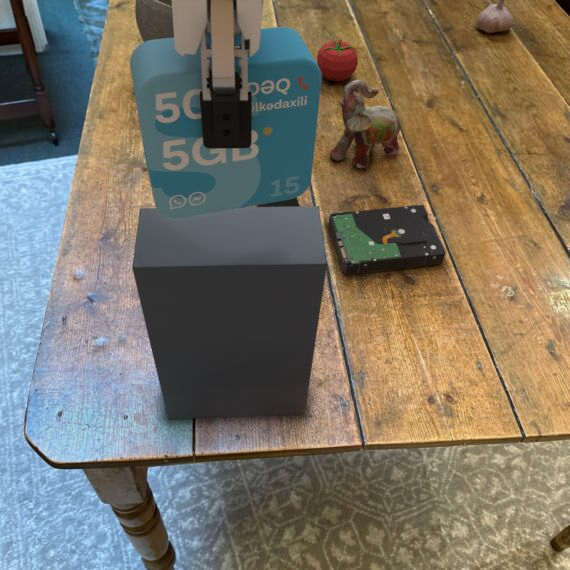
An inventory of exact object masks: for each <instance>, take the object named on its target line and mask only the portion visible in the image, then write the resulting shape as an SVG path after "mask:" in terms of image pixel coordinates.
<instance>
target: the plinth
mask: <svg viewBox="0 0 570 570" xmlns="http://www.w3.org/2000/svg"><path fill="white" fill-rule="evenodd" d="M299 206H300V205H299ZM324 239H325V238H324V232H323V224H322V218H321V211H320V206H319V205H316V206H315V205H312V206H311V205H310V206H309V205H308V206H306V205H304V206H302V205H301V206H300V207H258V206H248V207H242V208H236V209H230V210H224V211H218V212H212V213H206V214H200V215H194V216H188V217H183V218H170V217H166V216H164V215H162V214H161V213H160V212H159V211H158V210H157V208H156V207H141V208H139V213H138V220H137V229H136V234H135V244H134V250H133V258H132V265H131V268H132V272H133V277H134V281H135V286H136V290H137V294H138V298H139V303H140V307H141V312H142V315H143V319H144V323H145V327H146V333H147V336H148V341H149V345H150V349H151V353H152V357H153V362H154V366H155V370H156V374H157V378H158V381H159V382H158V383H159V388H160V391H161V396H162V400H163V405H164V408H165V409H164V410H165V413H166V417H167V420H188V419H189V420H190V419H217V418H243V417H244V418H245V417H246V418H247V417H272V416H296V415H297V416H299V415H305V414H306V408H307V401H308V396H309V395H308V394H309V389H310V383H311V374H312V367H313V361H314V356H315V355H314V354H315V348H316V341H317V333H318V329H319V328H318V327H319V321H320V315H321V307H322V301H323V295H324V289H325V288H324V287H325V281H326V275H327V274H326V273H327V267H328V261H327V255H326V247H325V240H324Z"/></svg>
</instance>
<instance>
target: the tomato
mask: <svg viewBox="0 0 570 570" xmlns="http://www.w3.org/2000/svg"><path fill="white" fill-rule="evenodd" d="M316 63H317V64H318V66H319V68H320V70H321V74H322V76H323V77H324V78H326V79H327V80H329V81H333V82H342V81H344V80H347V79H348V78H350V77H351V76H352V75H353V74H354V73H355V71H356V70H357V67H358V64H359V58H358V52H357V48H356V47H354V46H352V44H350V43H348V42H346V41H344V40H343V39H342V38H340V40H331V41H328V42H326V43H324V44H323V45H322V46H321V47H320V48H319V50H318V52H317V55H316Z"/></svg>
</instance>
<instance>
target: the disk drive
mask: <svg viewBox="0 0 570 570" xmlns="http://www.w3.org/2000/svg"><path fill="white" fill-rule="evenodd" d="M328 227H329V231H330V234H331V238H332V241H333V244H334V246H335V250H336V253H337V257H338V260H339V263H340V266H341V269H342V272H343V275H357V274H364V273H376V272H385V271H391V270H401V269H411V268H418V267H419V268H420V267H427V266H434V265H439V264H440V265H441V264H443V261H444V259H445V256H446V254H447V252H446V250H445V248H444V246H443V243H442V242H441V240H440V236H439V235H438V233H437V230H436V228H435V226H434V224H432V223H431V222H430V219H429V213H428V211H427V209H426V207H425V205H424V204H414V205H413V204H412V205H406V206H396V207H395V206H394V207H385V208H374V209H365V210H363V209H362V210H356V211H355V210H353V211H342V212H335V213H330V214H329V219H328Z"/></svg>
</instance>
